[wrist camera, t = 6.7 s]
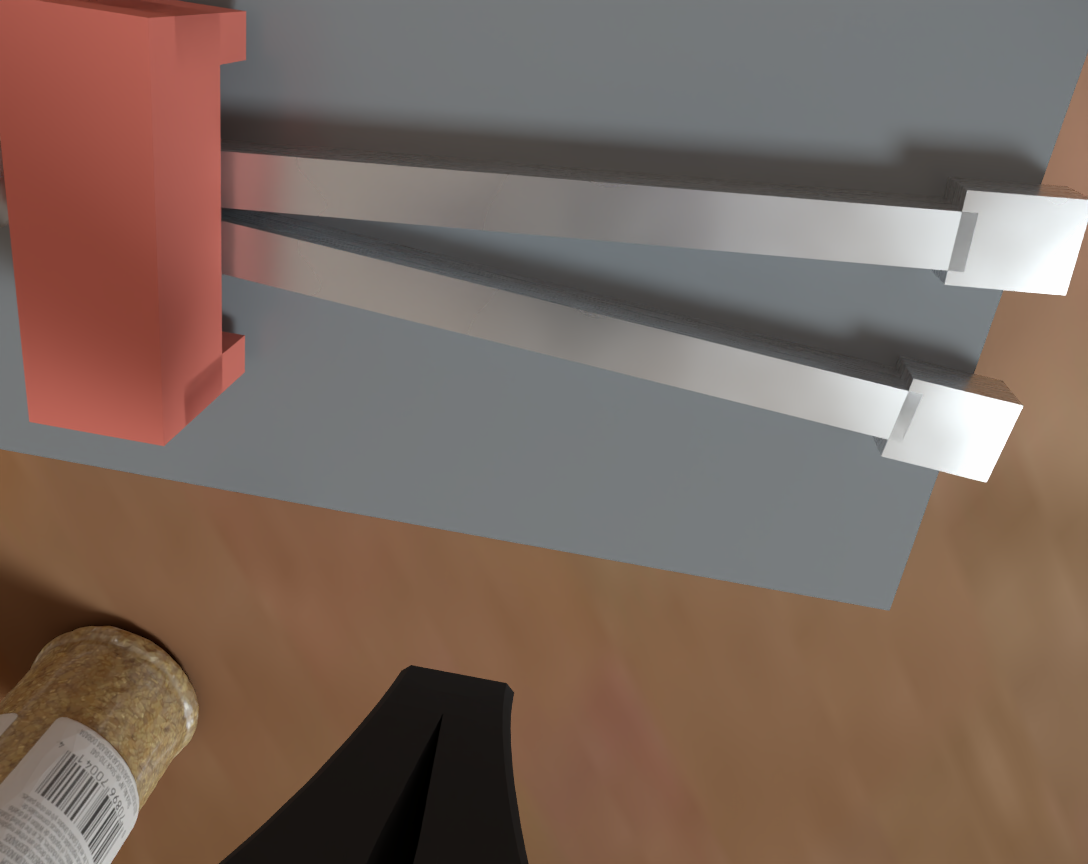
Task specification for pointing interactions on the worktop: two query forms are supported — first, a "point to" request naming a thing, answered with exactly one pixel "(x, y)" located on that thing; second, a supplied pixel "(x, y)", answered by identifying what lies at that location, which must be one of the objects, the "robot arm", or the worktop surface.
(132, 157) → the red block
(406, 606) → the worktop surface
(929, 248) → the tongs
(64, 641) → the sprinkles bottle
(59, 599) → the worktop surface
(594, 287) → the slate board
